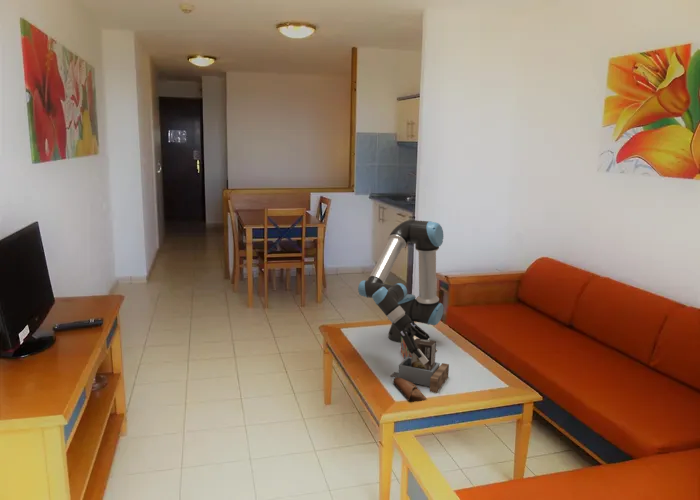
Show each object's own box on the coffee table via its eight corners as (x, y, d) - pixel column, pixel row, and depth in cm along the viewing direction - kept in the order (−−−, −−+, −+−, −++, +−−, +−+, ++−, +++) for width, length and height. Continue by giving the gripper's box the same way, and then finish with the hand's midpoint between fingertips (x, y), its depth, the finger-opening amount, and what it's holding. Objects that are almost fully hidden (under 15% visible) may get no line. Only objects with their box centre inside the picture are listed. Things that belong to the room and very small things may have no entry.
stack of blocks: (400, 352, 270) (401, 328, 268) (412, 351, 270) (413, 328, 268) (408, 369, 249) (409, 343, 247) (422, 368, 249) (423, 343, 247)
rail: (394, 372, 244) (394, 371, 244) (437, 381, 236) (437, 380, 236) (390, 376, 240) (390, 375, 240) (434, 385, 232) (434, 385, 231)
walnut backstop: (441, 375, 242) (442, 363, 241) (448, 377, 241) (448, 364, 239) (429, 391, 226) (430, 377, 225) (436, 392, 224) (437, 379, 223)
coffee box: (434, 376, 237) (436, 341, 234) (430, 381, 231) (432, 345, 228) (414, 372, 241) (416, 337, 238) (410, 377, 235) (411, 342, 232)
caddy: (406, 370, 245) (407, 356, 244) (438, 377, 239) (439, 363, 237) (398, 379, 235) (398, 365, 234) (431, 386, 229) (432, 371, 228)
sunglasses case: (429, 399, 218) (421, 387, 216) (414, 410, 217) (407, 397, 215) (410, 381, 235) (404, 370, 233) (397, 391, 233) (390, 379, 231)
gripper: (403, 316, 249) (433, 352, 246) (382, 331, 227) (415, 372, 223) (414, 306, 246) (445, 343, 242) (395, 321, 224) (428, 362, 220)
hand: (431, 357), depth 233 cm, fingers open, 13 cm apart
